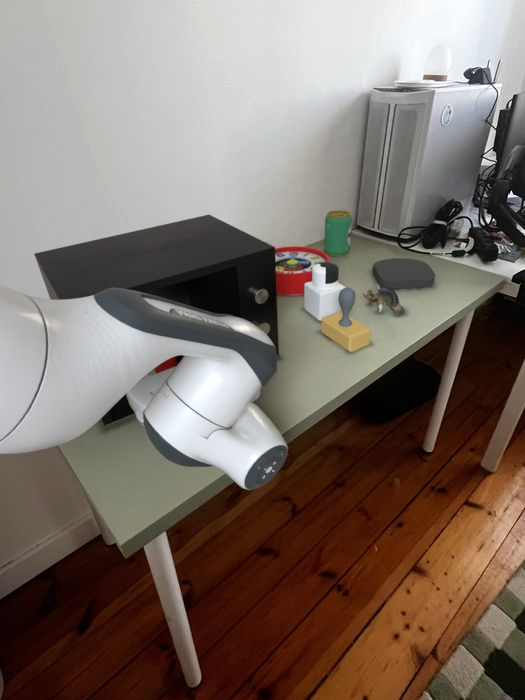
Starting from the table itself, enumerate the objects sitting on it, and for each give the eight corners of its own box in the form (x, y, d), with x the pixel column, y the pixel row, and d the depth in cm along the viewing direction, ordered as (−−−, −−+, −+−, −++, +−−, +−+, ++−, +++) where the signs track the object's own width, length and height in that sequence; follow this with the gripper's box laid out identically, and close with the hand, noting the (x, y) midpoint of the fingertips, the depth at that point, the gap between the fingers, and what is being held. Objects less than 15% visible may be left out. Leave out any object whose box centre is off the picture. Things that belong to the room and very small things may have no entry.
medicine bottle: (328, 302, 109) (330, 257, 102) (344, 314, 104) (347, 267, 97) (303, 309, 107) (303, 263, 100) (319, 321, 101) (320, 274, 94)
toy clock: (251, 274, 111) (259, 246, 128) (253, 295, 114) (260, 265, 131) (330, 274, 109) (328, 245, 125) (329, 295, 112) (327, 264, 129)
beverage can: (349, 256, 133) (351, 217, 126) (323, 256, 134) (324, 217, 128) (350, 247, 139) (352, 209, 133) (325, 246, 141) (326, 209, 134)
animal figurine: (359, 310, 102) (397, 312, 97) (363, 280, 102) (401, 281, 97) (371, 314, 109) (407, 317, 103) (375, 286, 109) (411, 287, 103)
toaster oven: (107, 434, 73) (64, 309, 60) (72, 360, 93) (34, 253, 80) (282, 361, 89) (279, 248, 75) (220, 310, 108) (209, 214, 95)
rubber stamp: (320, 332, 97) (321, 283, 90) (340, 324, 100) (343, 276, 93) (349, 352, 90) (353, 301, 83) (370, 343, 92) (375, 293, 86)
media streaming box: (381, 290, 113) (382, 280, 111) (369, 268, 125) (370, 258, 123) (438, 288, 112) (440, 277, 111) (420, 266, 125) (422, 256, 123)
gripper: (147, 445, 61) (118, 395, 71) (268, 392, 70) (227, 353, 80) (138, 412, 58) (109, 363, 68) (266, 360, 66) (224, 323, 76)
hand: (174, 357), depth 74 cm, fingers open, 8 cm apart
